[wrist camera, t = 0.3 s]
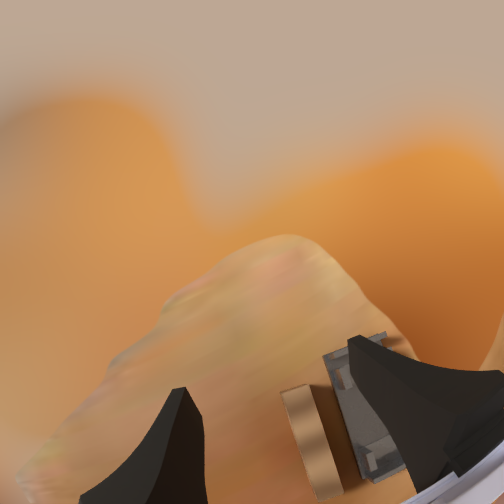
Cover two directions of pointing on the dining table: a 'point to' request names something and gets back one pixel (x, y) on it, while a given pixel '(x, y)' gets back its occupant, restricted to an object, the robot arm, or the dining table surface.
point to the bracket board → (363, 420)
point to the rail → (312, 442)
